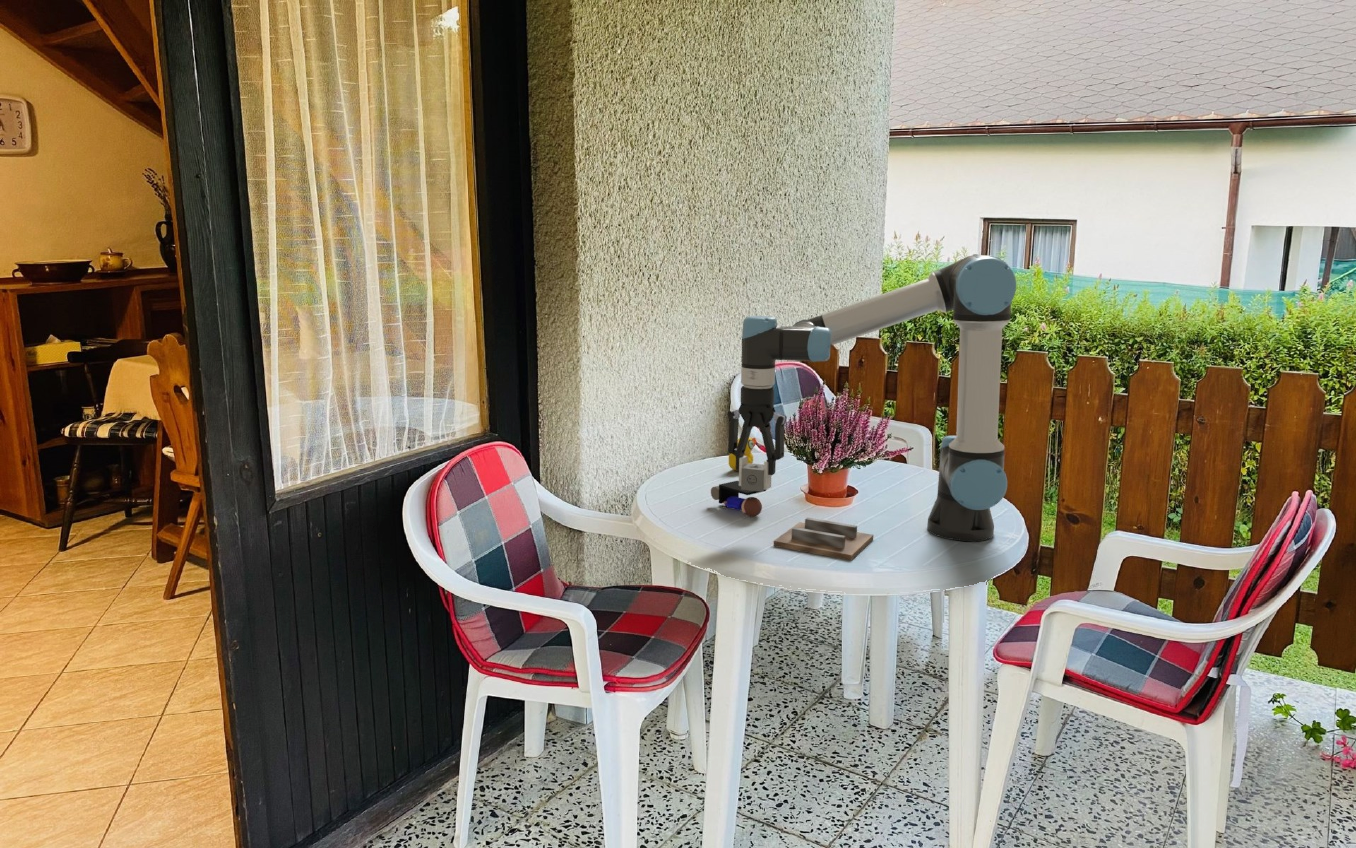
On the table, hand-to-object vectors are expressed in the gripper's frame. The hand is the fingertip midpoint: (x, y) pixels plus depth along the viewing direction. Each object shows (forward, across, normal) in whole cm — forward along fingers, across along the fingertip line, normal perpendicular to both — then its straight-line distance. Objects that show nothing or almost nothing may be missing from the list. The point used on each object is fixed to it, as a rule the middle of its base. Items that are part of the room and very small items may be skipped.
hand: (754, 486), depth 214 cm
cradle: (+12, +16, +4) cm, 20 cm away
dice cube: (+1, 0, 0) cm, 1 cm away
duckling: (+12, -27, +54) cm, 62 cm away
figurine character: (+12, -11, +16) cm, 23 cm away
